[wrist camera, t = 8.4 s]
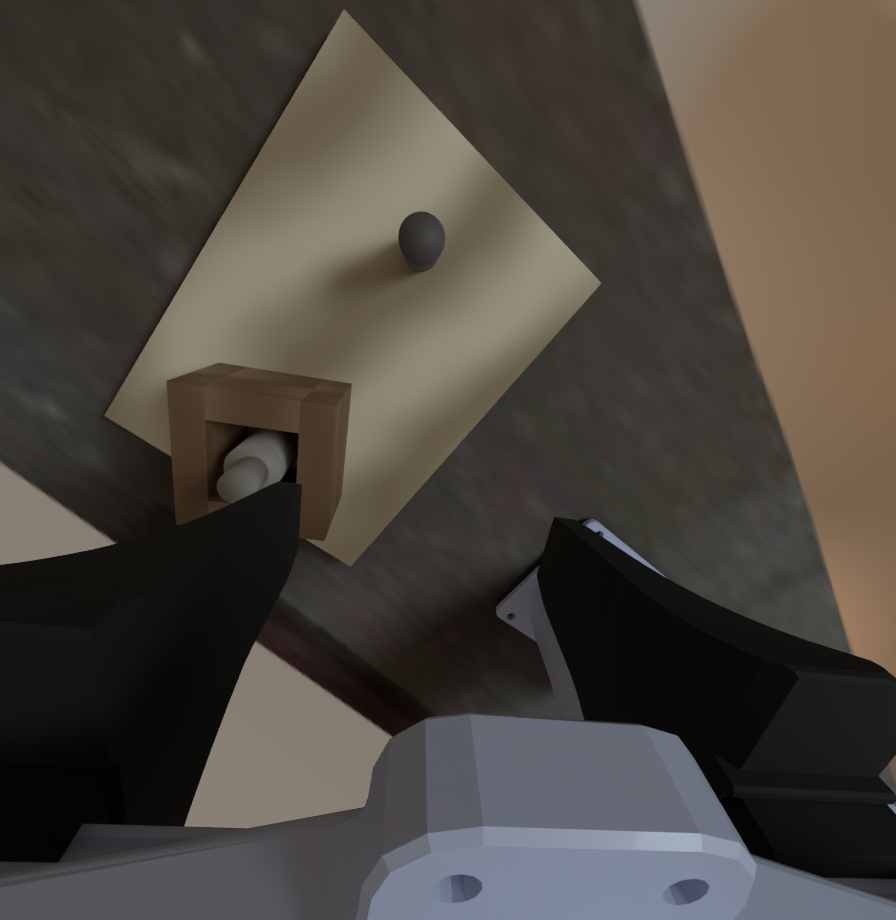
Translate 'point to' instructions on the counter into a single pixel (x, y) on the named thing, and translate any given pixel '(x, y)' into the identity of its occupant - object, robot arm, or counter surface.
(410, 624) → the counter surface
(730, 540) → the counter surface
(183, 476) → the collar
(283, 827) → the robot arm
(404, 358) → the fitting board
